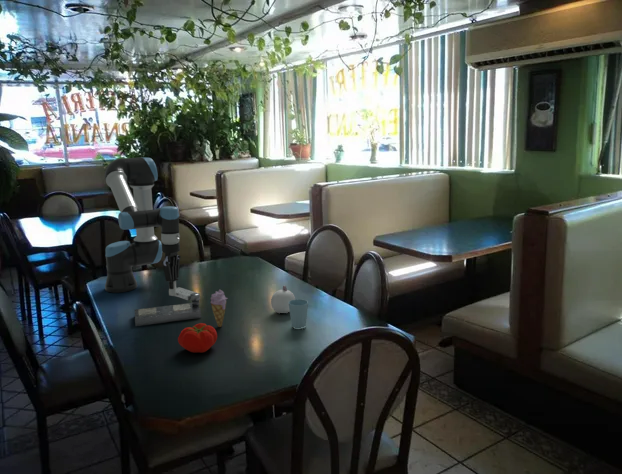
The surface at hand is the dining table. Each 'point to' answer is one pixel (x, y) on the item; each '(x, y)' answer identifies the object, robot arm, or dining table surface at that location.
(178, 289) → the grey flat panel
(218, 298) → the ice cream cone
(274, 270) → the dining table surface
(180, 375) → the dining table surface
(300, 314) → the cup
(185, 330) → the tomato
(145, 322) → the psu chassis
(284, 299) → the ornament
